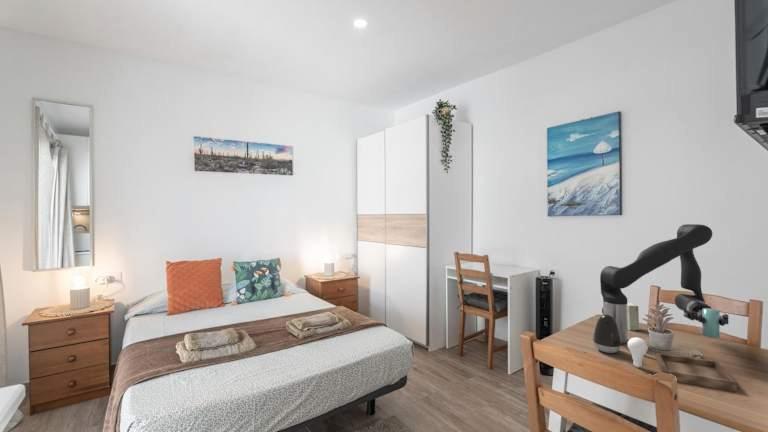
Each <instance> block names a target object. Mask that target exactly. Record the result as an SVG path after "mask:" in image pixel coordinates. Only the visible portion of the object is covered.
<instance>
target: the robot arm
mask: <svg viewBox="0 0 768 432" xmlns="http://www.w3.org/2000/svg"><path fill="white" fill-rule="evenodd" d="M712 237H713V230H712V228H710V227H709V226H708V225H706V224H705V225H704V224H700V223H699V224H695V223H694V224H689V223H687V224H682V225H680V226H679V227H678V229H677V231H676V237H675V238H671V239H668V240H664V241H661V242H658V243H655V244H652V245H650V246H648V247H647V248H645V249H643V250H642V251H640V253H639V254H638V256H637V258H636V260H634V261H633V262H632V263H630V264H627V265H625V266H623V267H619V266H618V267H617V266H612V265H608V266H607V265H606V266H605V267H604V268H602V270H601V271H600V277H599V278H600V279H599V280H600V282H599V283H600V284H599V285H600V294H601V296H602V301H603V302H602V308H603V314H602V315H610V316H612V317H613V318H614V320H615V321H616V323H617V325H618V328H619V331H620V335H621V340H622V344H627V343H628V341H629V340H628V339H629V332H628V331H629V329H628V312H627V303H628V297H627V296H626V295H625V293H623V292H622V289H625V288H627V287H630V286H631V285H632V284H634V283H635V282H636V281H638V280H639V279H640V278H642V277H644V276H646V275H647V274H650V272H652V271H655V270H657V269H658V268H659V267H662V266H664V265H666V264H668V263H669V262H671V261H672V260H674V259H676V258H678V257H679V259H680V260H679V261H680V287H681V288H682V289H684V290H688V291H691V292H693V294H694V295H693V294H686V293H679V294H677V295H676V296H675V297H674V304H675V306H676V307H677V308H678V309H679V310H681V311H683V317H685V318H687V319H688V320H691V321H697V322H699V323H701V324H702V323H703V324H705V318H704V317H703V316H702V308H710V309H713V308H712V307H711V306H710V305H708V304H707V303H706V301H705V298H704V295H703V294H704V293H703V292H702V270H701V267H700V265H699V264H698V263H699V262H698V261H697V259H696V257H695V254H694V249H696V248H699V247H701V246H703V245H706V244H708V243H709V241H710V240H711V239H712ZM726 325H729V314H727V313H724V314H722V315H720V326H722V327H724V326H726ZM626 342H627V343H626Z"/></svg>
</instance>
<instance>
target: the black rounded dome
mask: <svg viewBox="0 0 768 432" xmlns="http://www.w3.org/2000/svg"><path fill="white" fill-rule="evenodd" d="M592 341H593V343H594V346H595V348H597V349H598V351H600V352H602V353H606V354H615V353H618V352H619V351H620V349H621V347H622V346H623V343H622V340H621V335H620V331H619V328H618V325H617V323H616V321H615V320H614V318H613V317H612V316H610V315H603V314H601V315H600V316H599V317H598V319H597V321H596V324H595V326H594V331H593V337H592Z"/></svg>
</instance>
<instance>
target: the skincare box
mask: <svg viewBox="0 0 768 432" xmlns="http://www.w3.org/2000/svg"><path fill="white" fill-rule="evenodd" d="M627 312H628V331H636V330H639V331H640V322H639V321H640V318H639V316H640V315H639V305H636V304H634V303H633V302H627Z"/></svg>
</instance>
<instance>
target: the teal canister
mask: <svg viewBox="0 0 768 432" xmlns="http://www.w3.org/2000/svg"><path fill="white" fill-rule="evenodd" d="M702 316H703V317H704V318H705V324H703V323H701V324H702V327H701V328H702V336H704V337H707V338H712V339H713V338H714V339H719V338H720V334H721V333H720V332H721V331H720V326H721V325H720V316H721V315H720V310H719V309H716V308H712V309H710V308H702Z"/></svg>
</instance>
